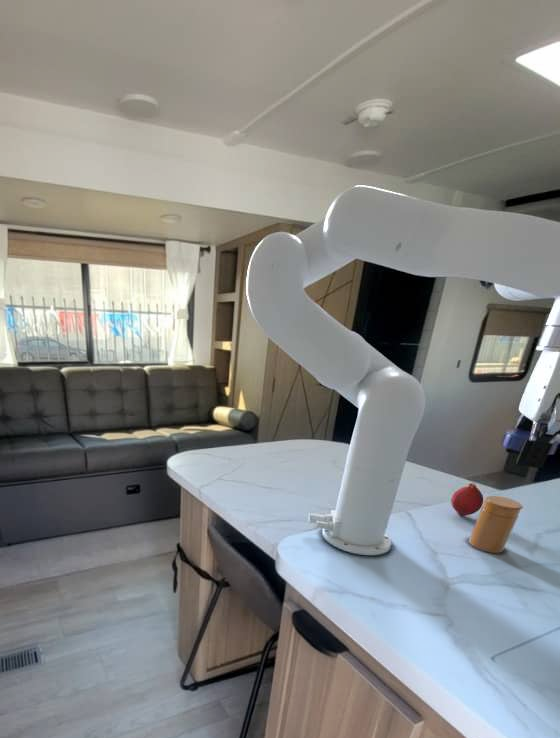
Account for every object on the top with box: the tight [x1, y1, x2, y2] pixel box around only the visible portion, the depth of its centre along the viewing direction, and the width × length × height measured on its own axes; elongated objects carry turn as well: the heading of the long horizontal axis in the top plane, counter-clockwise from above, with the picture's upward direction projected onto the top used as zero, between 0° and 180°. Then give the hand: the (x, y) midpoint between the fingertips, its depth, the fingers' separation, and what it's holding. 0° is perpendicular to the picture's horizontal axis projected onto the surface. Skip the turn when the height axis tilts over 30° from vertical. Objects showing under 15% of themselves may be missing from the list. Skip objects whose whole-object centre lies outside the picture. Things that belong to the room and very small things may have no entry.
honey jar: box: [468, 495, 524, 554], centre depth 77 cm, size 6×6×10 cm
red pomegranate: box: [450, 482, 484, 517], centre depth 90 cm, size 6×6×8 cm
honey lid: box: [500, 429, 560, 456], centre depth 65 cm, size 7×7×2 cm
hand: (522, 458), depth 66 cm, fingers closed on honey lid, 6 cm apart
